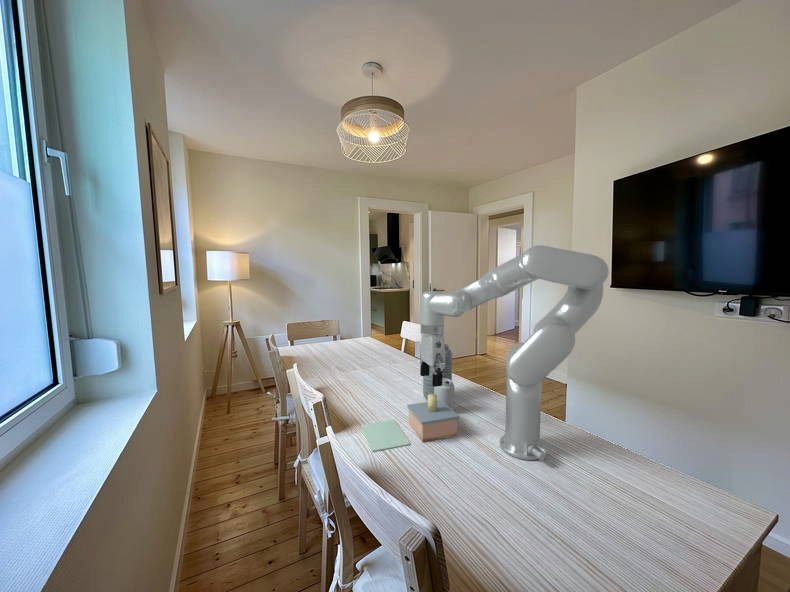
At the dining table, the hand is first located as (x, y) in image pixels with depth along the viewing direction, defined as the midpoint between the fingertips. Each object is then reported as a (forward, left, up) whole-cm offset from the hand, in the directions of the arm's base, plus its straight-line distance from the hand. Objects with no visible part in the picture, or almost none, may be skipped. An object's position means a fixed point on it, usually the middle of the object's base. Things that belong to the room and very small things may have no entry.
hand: (430, 380), depth 101 cm
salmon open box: (0, 0, -17) cm, 17 cm away
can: (+11, -10, -17) cm, 23 cm away
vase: (+21, -12, -17) cm, 29 cm away
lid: (0, 0, -11) cm, 11 cm away
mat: (+2, +16, -17) cm, 23 cm away
